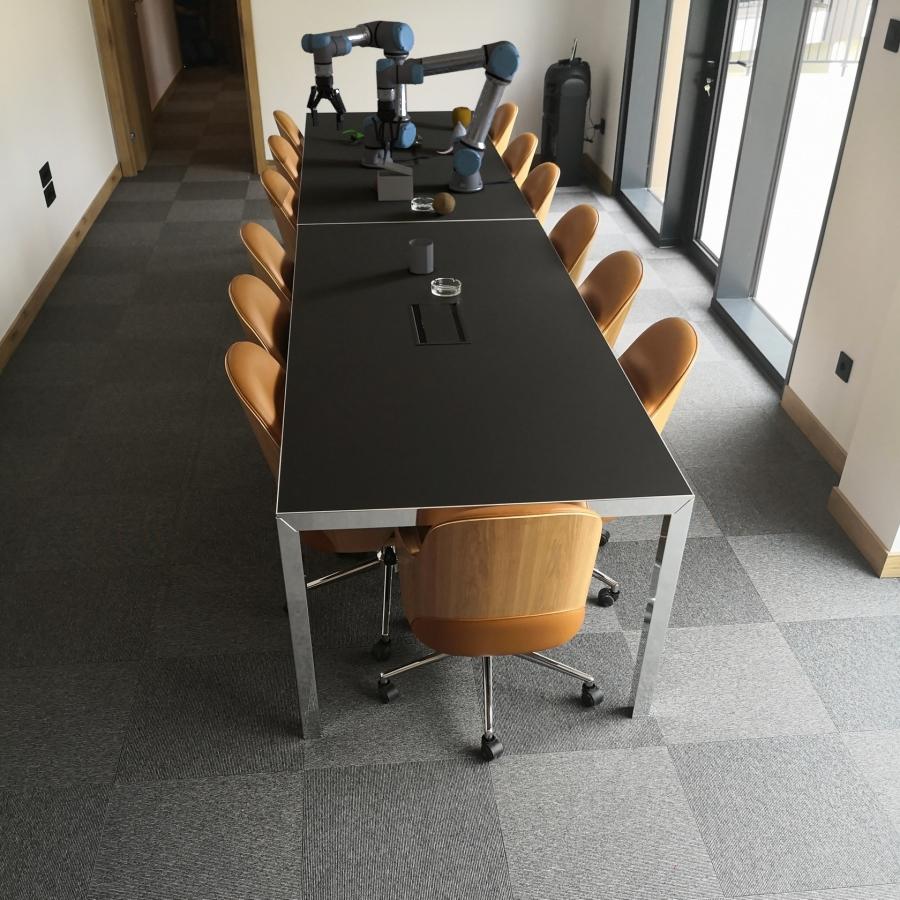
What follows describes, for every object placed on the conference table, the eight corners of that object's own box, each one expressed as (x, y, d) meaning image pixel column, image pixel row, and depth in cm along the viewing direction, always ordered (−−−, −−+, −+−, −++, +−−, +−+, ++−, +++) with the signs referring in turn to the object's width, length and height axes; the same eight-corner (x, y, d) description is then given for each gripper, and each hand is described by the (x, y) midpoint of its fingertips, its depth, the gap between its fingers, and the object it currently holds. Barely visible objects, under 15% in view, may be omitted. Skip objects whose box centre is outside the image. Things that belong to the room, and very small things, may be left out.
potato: (453, 208, 369) (453, 189, 365) (456, 218, 357) (456, 199, 353) (431, 208, 368) (430, 189, 364) (432, 218, 356) (432, 199, 352)
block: (376, 191, 390) (376, 182, 387) (373, 189, 393) (373, 180, 390) (385, 190, 391) (384, 181, 389) (382, 188, 394) (381, 179, 392)
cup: (409, 265, 311) (408, 238, 306) (432, 265, 312) (431, 238, 307) (410, 274, 304) (409, 246, 299) (433, 273, 305) (433, 246, 299)
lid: (376, 166, 370) (382, 145, 366) (376, 160, 378) (382, 139, 374) (412, 176, 373) (418, 155, 369) (411, 170, 382) (417, 149, 377)
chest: (378, 200, 378) (377, 176, 373) (378, 194, 386) (377, 170, 381) (413, 200, 379) (412, 176, 374) (412, 193, 387) (412, 170, 382)
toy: (474, 152, 449) (475, 122, 441) (443, 160, 434) (443, 129, 426) (462, 149, 454) (462, 119, 446) (430, 157, 439) (430, 126, 431)
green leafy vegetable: (396, 126, 467) (340, 124, 465) (396, 141, 460) (339, 139, 458) (396, 136, 472) (341, 134, 470) (396, 151, 465) (340, 149, 463)
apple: (471, 132, 486) (471, 108, 479) (451, 132, 486) (451, 108, 479) (470, 128, 495) (471, 104, 488) (452, 128, 495) (452, 104, 488)
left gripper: (295, 73, 364) (300, 125, 376) (340, 79, 352) (344, 133, 364) (307, 70, 369) (311, 122, 381) (352, 76, 358) (355, 130, 369)
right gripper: (368, 101, 357) (370, 159, 370) (404, 101, 358) (405, 159, 371) (368, 97, 363) (370, 155, 376) (403, 97, 364) (405, 154, 377)
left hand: (327, 128), depth 372 cm, fingers open, 13 cm apart
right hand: (388, 157), depth 373 cm, fingers closed on lid, 2 cm apart
